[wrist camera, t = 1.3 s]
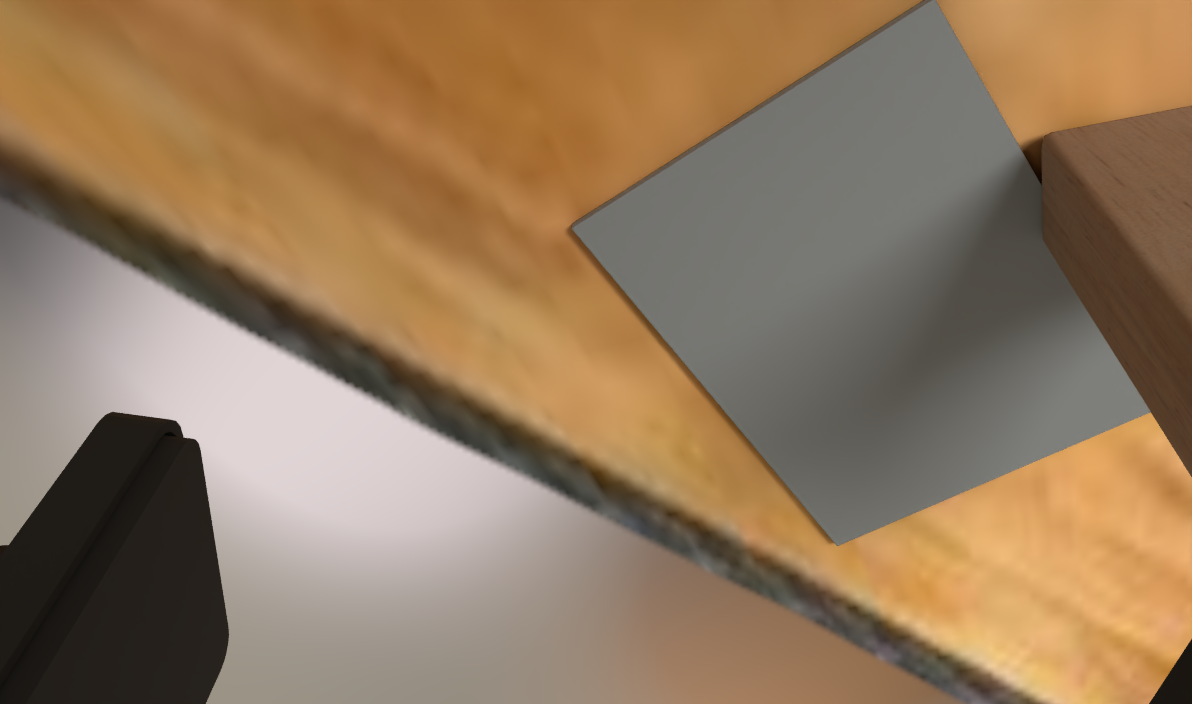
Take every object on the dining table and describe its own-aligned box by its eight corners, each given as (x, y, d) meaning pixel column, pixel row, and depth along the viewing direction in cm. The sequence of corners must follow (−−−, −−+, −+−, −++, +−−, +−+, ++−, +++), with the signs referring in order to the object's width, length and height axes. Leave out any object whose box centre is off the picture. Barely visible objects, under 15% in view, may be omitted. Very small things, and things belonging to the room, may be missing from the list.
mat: (932, -6, 35) (934, -2, 35) (1163, 398, 44) (1167, 405, 43) (572, 223, 41) (571, 228, 41) (836, 539, 50) (837, 546, 49)
